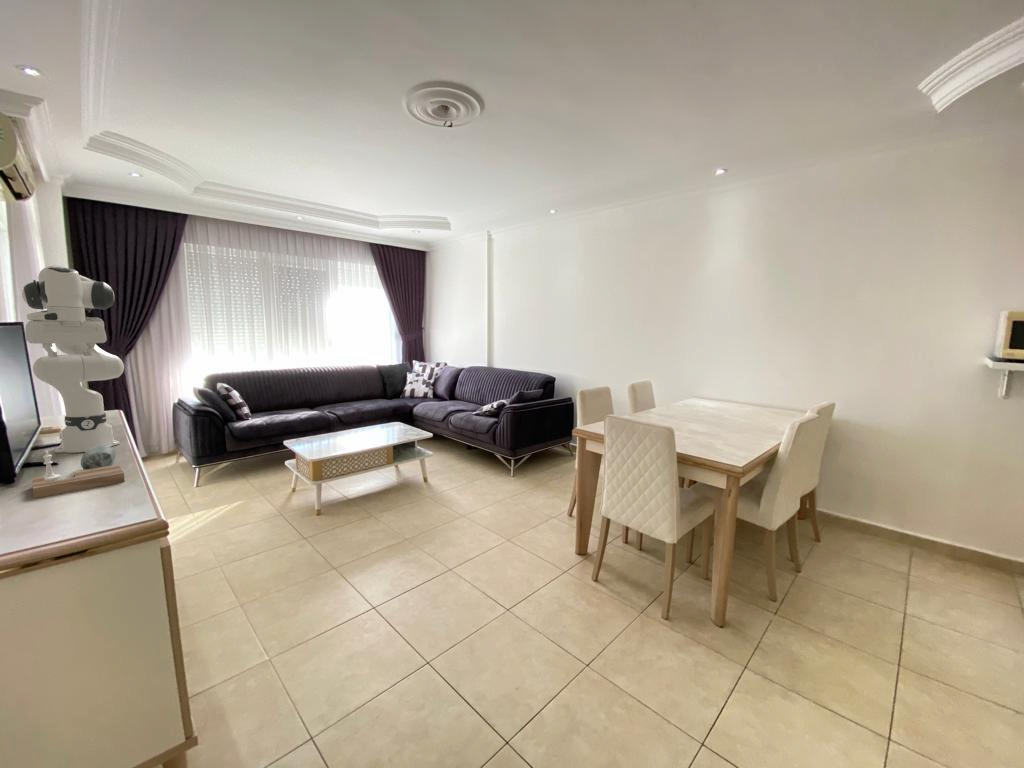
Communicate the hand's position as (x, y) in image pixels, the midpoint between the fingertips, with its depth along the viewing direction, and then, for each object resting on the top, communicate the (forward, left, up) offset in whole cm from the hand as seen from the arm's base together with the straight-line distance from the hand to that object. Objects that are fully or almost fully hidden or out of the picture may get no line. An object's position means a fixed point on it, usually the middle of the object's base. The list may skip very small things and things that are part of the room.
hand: (70, 356), depth 144 cm
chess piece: (+6, -8, -41) cm, 42 cm away
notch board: (+19, -2, -40) cm, 44 cm away
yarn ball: (+3, +4, -41) cm, 41 cm away
